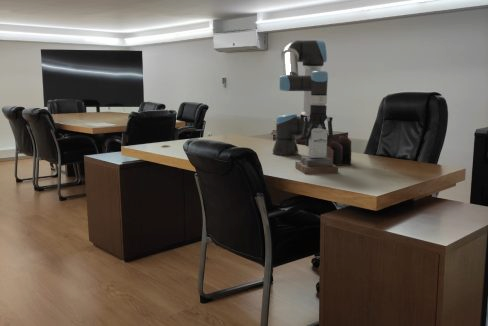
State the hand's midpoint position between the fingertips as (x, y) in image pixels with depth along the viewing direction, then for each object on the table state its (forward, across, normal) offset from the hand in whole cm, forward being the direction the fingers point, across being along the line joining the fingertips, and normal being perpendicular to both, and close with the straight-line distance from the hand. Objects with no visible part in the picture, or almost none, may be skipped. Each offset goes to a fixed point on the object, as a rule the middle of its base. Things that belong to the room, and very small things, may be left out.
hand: (316, 152), depth 227 cm
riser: (+9, 0, 0) cm, 9 cm away
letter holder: (+9, +18, +20) cm, 28 cm away
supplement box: (+1, 0, 0) cm, 1 cm away
